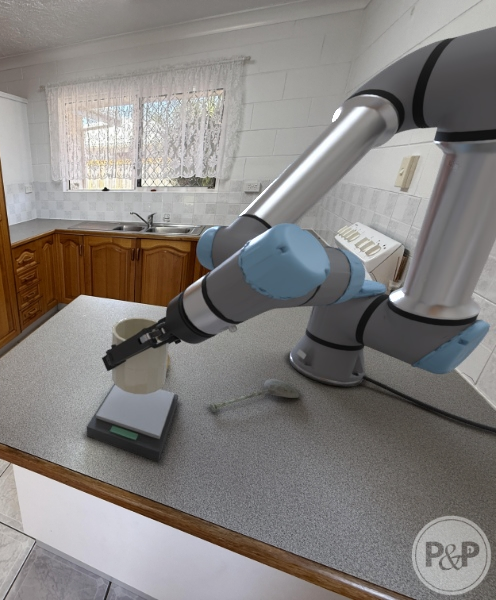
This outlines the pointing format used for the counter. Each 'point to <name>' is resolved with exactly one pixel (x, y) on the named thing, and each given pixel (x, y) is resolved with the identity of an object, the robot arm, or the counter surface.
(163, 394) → the scale
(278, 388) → the soupspoon
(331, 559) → the counter surface
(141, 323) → the cream cylinder cup
